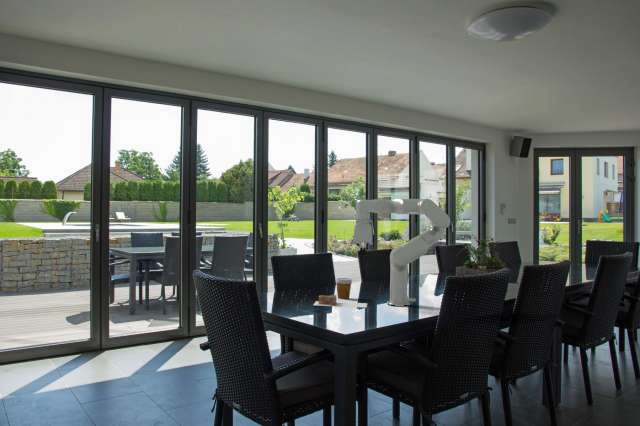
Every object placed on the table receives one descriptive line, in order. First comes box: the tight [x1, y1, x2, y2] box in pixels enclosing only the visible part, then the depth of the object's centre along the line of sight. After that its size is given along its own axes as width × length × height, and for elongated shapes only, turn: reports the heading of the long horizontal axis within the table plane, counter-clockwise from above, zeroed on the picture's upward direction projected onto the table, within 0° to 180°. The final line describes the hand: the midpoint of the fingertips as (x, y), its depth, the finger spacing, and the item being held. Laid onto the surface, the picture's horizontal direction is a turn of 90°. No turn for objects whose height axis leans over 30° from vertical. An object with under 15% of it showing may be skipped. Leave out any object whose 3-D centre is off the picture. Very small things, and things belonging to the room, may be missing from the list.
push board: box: [313, 300, 368, 308], centre depth 260 cm, size 28×12×1 cm, turn 83°
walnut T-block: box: [318, 294, 337, 305], centre depth 261 cm, size 9×9×4 cm
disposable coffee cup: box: [335, 277, 353, 300], centre depth 279 cm, size 10×10×12 cm
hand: (362, 255), depth 268 cm, fingers closed
